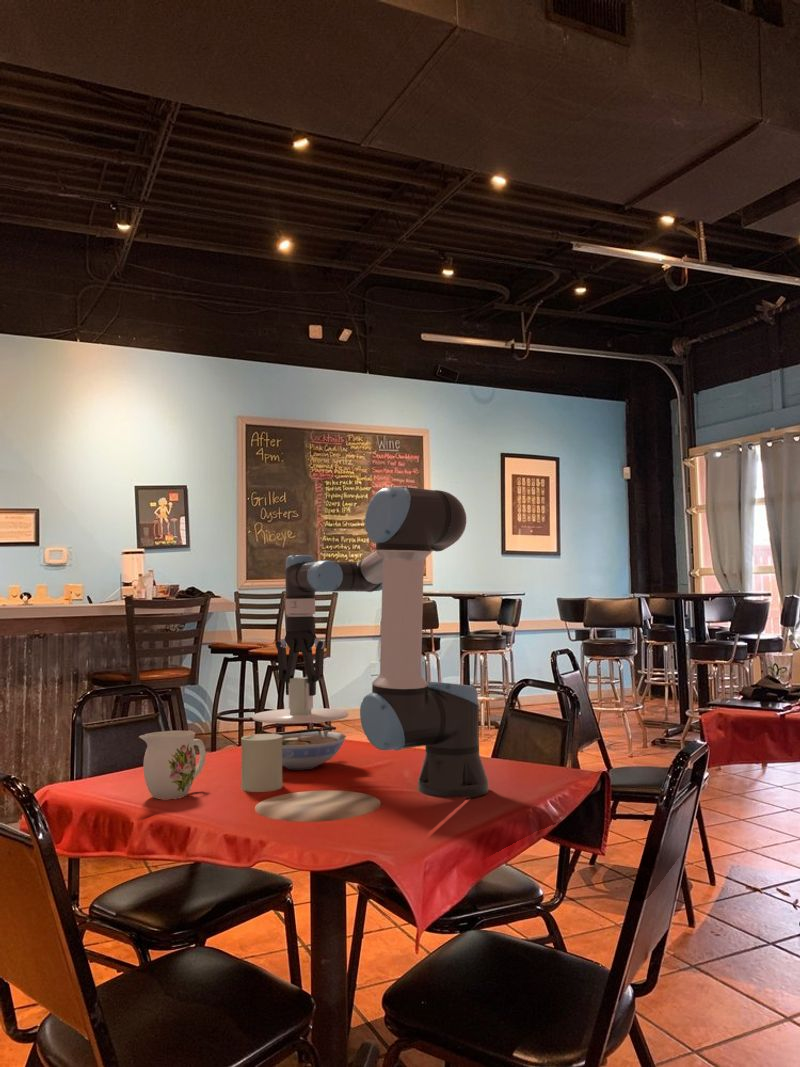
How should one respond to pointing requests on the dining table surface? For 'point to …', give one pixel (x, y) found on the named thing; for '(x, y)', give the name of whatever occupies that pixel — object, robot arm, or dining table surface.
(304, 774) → the dining table surface
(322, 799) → the disc
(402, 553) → the robot arm
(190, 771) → the pitcher
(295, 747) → the ramen bowl
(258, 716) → the lid
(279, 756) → the can
